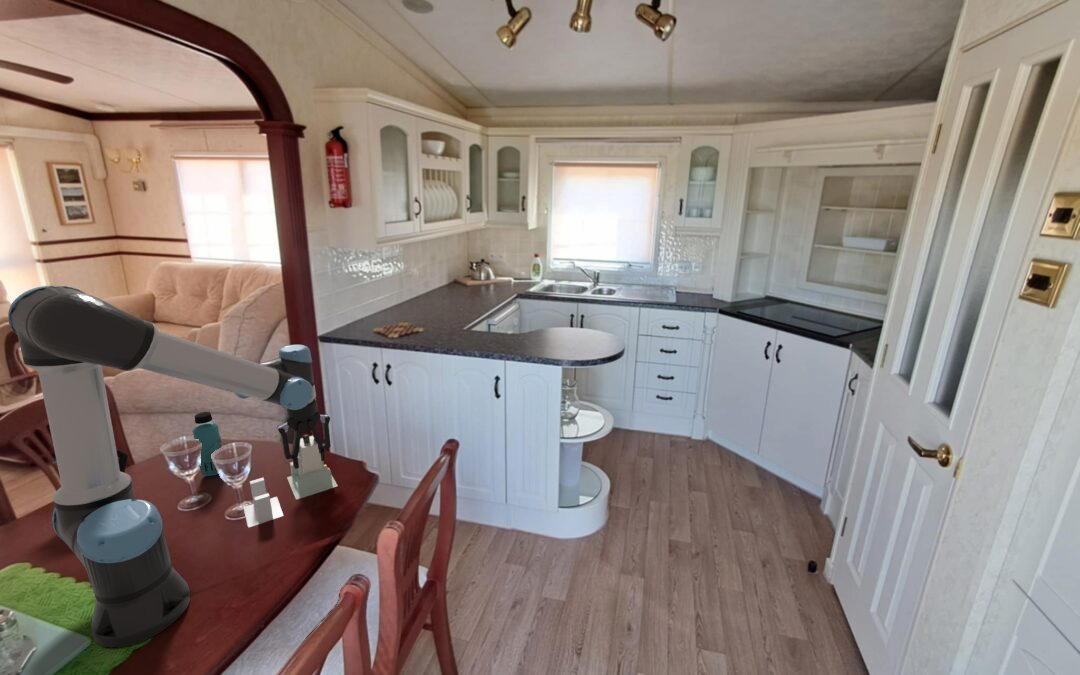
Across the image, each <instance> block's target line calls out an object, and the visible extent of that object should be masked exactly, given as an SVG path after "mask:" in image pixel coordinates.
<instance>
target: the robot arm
mask: <svg viewBox="0 0 1080 675" xmlns="http://www.w3.org/2000/svg"><path fill="white" fill-rule="evenodd" d="M7 318H8V319H7V320H8V325H9V327H10V328H11V331H12V332H14V334H15V335H17V338H18V343H19V347H20V348H19V349H20V352H21V356H22V360H23V365H24V366H25V367H28V368H29V369H31V370H33V371H36V372H37V373H38V377H39V378H38V379H39V383H40V387H41V393H42V397H43V402H44V406H45V410H46V415H47V421H48V426H49V430H50V436H51V439H52V444H53V445H52V446H53V449H54V454H55V460H57V465H56V466H57V468H58V469H57V470H58V473H59V478H60V483H61V486H60V487H59V488H58V489H57V490H55V492H54V494H53V496H52V501H53V505H54V508H53V512H52V526H53V530H54V532H55V534H56V535H57V536H58V537H59V539H60V540H62V541H63V542H64V543H65V544H66V545H67V546H68V548H69V549H70V550H71V551H72V553H74V555H75V557H76V558H77V559H78V560H79V562H81V564H82V565H83V566H84V568H85V571H86V572H87V575H88V579H89V582H90V585H91V588H92V591H93V594H94V597H95V603H94V609H93V614H92V619H91V626H90V628H91V630H90V631H91V634H92V636H93V640H94V641H95V643H96V644H97V645H98V646H100V647H102V646H103V647H102V648H106V647H121V648H125V647H124V646H126V647H129V646H128V645H130V646H133V644H134V645H136V644H140V643H143V642H145V641H147V640H148V639H151V638H153V637H155V636H156V635H158V634H159V633H161V632H163V631H165V630H167V628H169V627H170V626H172V625H173V624H174V623H175V622H176V621H177V620H179V618H180V617H182V615H183V614H184V613H185V611H186V610H187V608H188V606H189V605H190V604H189V603H190V601H191V592H190V589H189V588H190V587H189V585H188V583H187V581H186V580H185V579H184V578H183V577H182V576H181V575H180V574H179V573H178V571H177V570H175V568H174V567H173V564H172V561H171V558H170V557H171V556H170V552H169V548H168V544H167V540H166V535H165V532H164V527H163V519H162V517H161V514H160V512H159V510H158V508H157V507H156V506H155V505H154V504H153V503H152V502H150V501H147V500H144V499H135V492H134V488H133V487H134V486H133V481H132V477H131V475H130V474H128V473H126V472H125V473H123V472H120V469H119V457H117V451H116V450H117V447H116V441H115V440H116V439H115V434H114V429H113V425H112V424H113V423H112V418H111V412H110V406H109V400H108V394H107V389H106V382H105V378H104V372H103V371H104V370H103V367H107V368H113V369H118V370H122V371H126V372H131V371H133V370H136V369H141V370H145V371H148V372H152V373H157V374H160V375H163V376H168V377H172V378H176V379H180V380H183V381H187V382H191V383H196V384H199V385H201V386H207V387H211V388H215V389H218V390H222V391H225V392H230V393H233V394H235V396H236V397H238V398H240V399H243V400H244V399H247V398H254V399H257V400H262V401H264V402H267V403H271V404H274V405H278V406H282V408H285V409H286V411H287V419H286V422H285V423H283V424H278V425H277V426H276V428H277V431H278V433H279V434H280V437H281V443H282V444H281V445H282V450H283V454H284V457H285V459H286V460H292V462H293V466H294V468H295V469H297V468H298V472H299V476H303V469H302V462H301V457H300V455H299V454H298V453H299V446H300V439H301V438H302V433H305V432H311V434H312V435H311V436H313V437H314V439H315V441H316V442H317V444H318V451H319V459H320V467H321V470H322V462H321V461H323V462H325V461H326V454H325V452H326V450H327V449H330V448H331V447H332V446H331V435H330V425H329V424H330V422H331V421H330V420H331V417H330V415H329V414H328V413H325V414H320V413H319V410H318V409H319V408H318V402H317V399H316V397H317V393H316V387H315V378H314V369H313V359H312V354H311V350H310V348H309V347H308V346H307V345H303V344H290V345H286V346H284V347H281V348H280V349H279V350H278V357H276V358H274V359H271V360H266V361H263V362H259V363H258V362H255V361H252V360H248V359H246V358H243V357H240V356H236V355H233V354H230V353H228V352H224V351H220V350H218V349H215V348H213V347H209V346H206V345H203V344H200V343H198V342H194V341H191V340H187V339H185V338H182V337H179V336H176V335H173V334H170V333H166V332H164V331H161V330H158V329H157V326H156V324H154V323H153V322H151V321H148V320H146V319H143V318H139V317H137V316H135V315H133V314H130V313H128V312H126V311H124V310H123V309H120V308H118V307H116V306H114V305H113V304H111V303H109V302H106V300H103V299H101V298H99V297H97V296H94V295H91V294H88V293H86V292H85V291H83V290H80V289H79V288H74V287H72V286H71V287H70V286H67V285H43V286H38V287H35V288H33V287H32V289H31V288H30V289H29V290H27V291H24V292H22V293H21V294H19V295H18V296H17V297H16V298H15V299H13V301H12V303H10V306H9V309H8V313H7ZM319 421H320V422H321V425H322V435H323V436H322V437H323V443H322V441H321V438H320V436H319V434H318V430H317V429H316V426H317V424H318V423H319ZM289 428H291V429H292V430H293V440H292V449H291V451H290V445H289V438H288V434H287V432H288V431H289Z"/></svg>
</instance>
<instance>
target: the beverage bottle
mask: <svg viewBox="0 0 1080 675" xmlns="http://www.w3.org/2000/svg"><path fill="white" fill-rule="evenodd" d="M212 420H213V416H212V413H211V412H210V411H203V412H200V413H199V412H198V413H196V414H195V415H194V423H195V424H197V425H195V426H194V427H193V429H192V431H191V432H192V434H193V439H199V441H200V442H201V443H202V449H201V466H200V465H199V471H200V474H201V475H202V476H204V477H209V476H210V477H211V476H215V475H219V474H218V473H217V470H216V468H215V466H214V464H213V462H212V459H211V454H212V453H213V452H214V451H215V450H217V449H219V448H221V447H223V445H222V437H221V435H220V434H221V433H220V431H219V425H218V424H217V423H216V422H213V421H212Z"/></svg>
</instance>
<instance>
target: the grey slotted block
mask: <svg viewBox="0 0 1080 675" xmlns="http://www.w3.org/2000/svg"><path fill="white" fill-rule="evenodd" d="M249 486H250V491H251V497H252V501H253V503H252V504H249V505H245V506H243V512H244V515H245V521H246V525H247V527H248V528H249V529H250V528H252V527H255V526H258V525H261V524H264V523H266V522H270V521H272V520H275V519H279V518H282V517H284V513H283V511H282V507H281V504H280V501H279V498H278V496H274V497H271V496H270V494H269V492H267V489H266V483H265V479H264V477H260V478H257V479H254V480H250V481H249ZM270 497H271V498H270Z"/></svg>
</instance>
